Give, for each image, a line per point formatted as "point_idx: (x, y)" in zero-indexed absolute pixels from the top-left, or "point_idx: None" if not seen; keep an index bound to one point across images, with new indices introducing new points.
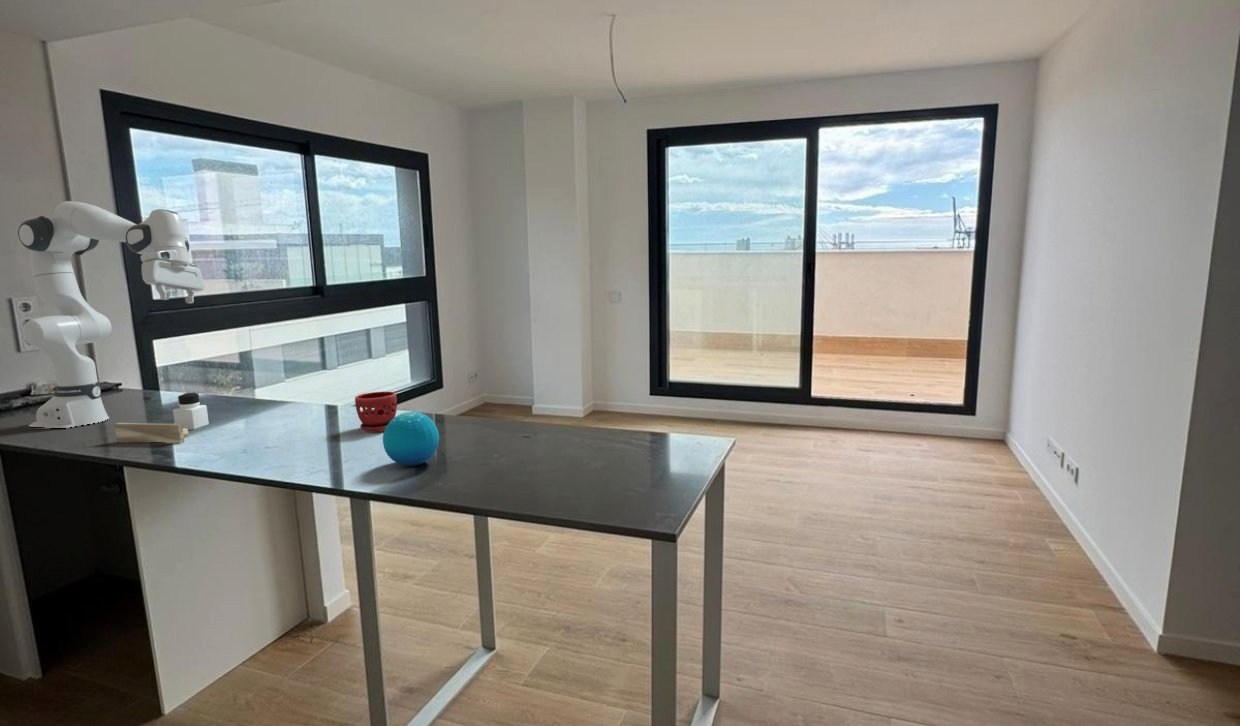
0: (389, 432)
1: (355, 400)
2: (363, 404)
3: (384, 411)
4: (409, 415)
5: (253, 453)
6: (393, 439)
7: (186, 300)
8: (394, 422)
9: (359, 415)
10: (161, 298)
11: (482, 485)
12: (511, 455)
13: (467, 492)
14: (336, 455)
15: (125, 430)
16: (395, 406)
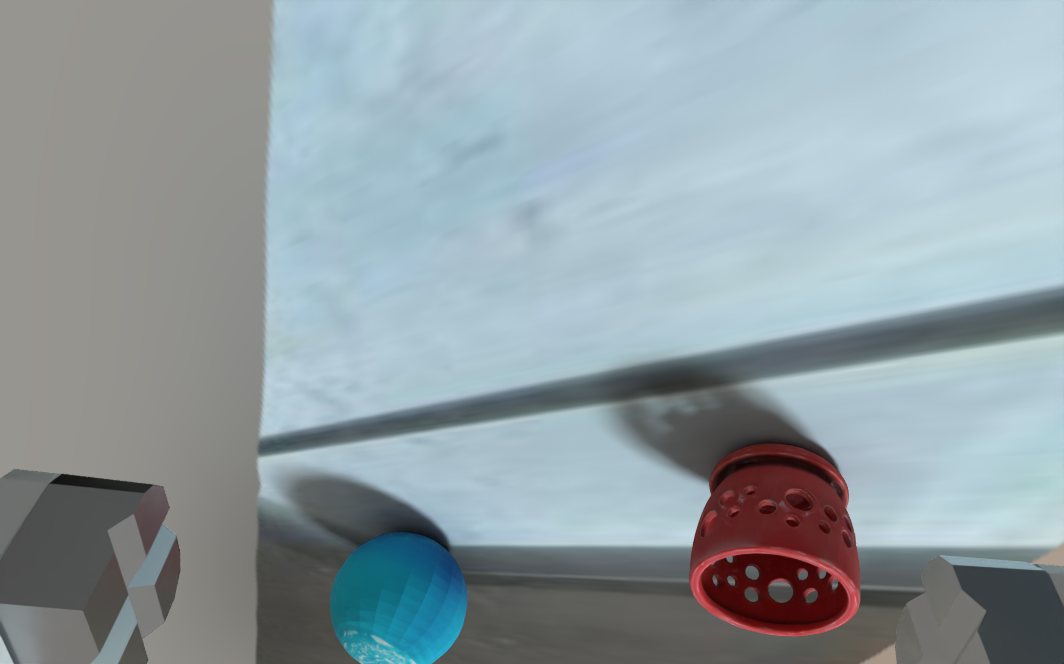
0: (334, 602)
1: (730, 540)
2: (693, 550)
3: (715, 562)
4: (360, 661)
5: (448, 193)
6: (331, 593)
7: (968, 627)
8: (341, 630)
9: (731, 492)
10: (8, 502)
11: None
12: (507, 656)
13: (300, 593)
14: (464, 415)
15: None
16: (791, 585)
